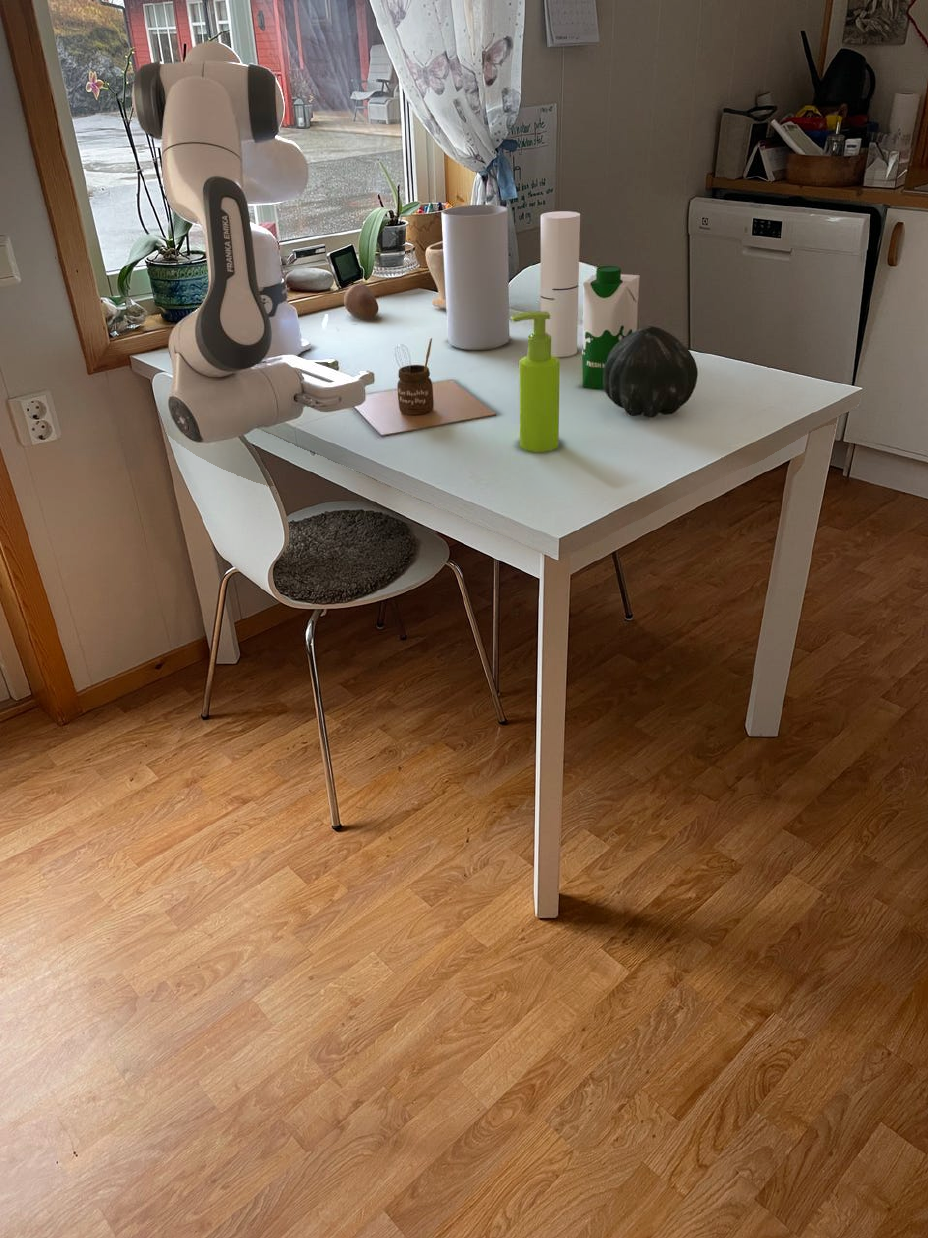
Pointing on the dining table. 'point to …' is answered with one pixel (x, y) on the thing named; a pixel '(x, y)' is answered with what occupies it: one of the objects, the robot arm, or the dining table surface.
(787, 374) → the dining table surface
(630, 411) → the squash
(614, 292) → the milk carton
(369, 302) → the potato
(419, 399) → the utensil holder
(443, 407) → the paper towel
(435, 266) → the stone cup
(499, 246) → the cylinder vase
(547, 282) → the cylindrical container
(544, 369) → the soap dispenser
